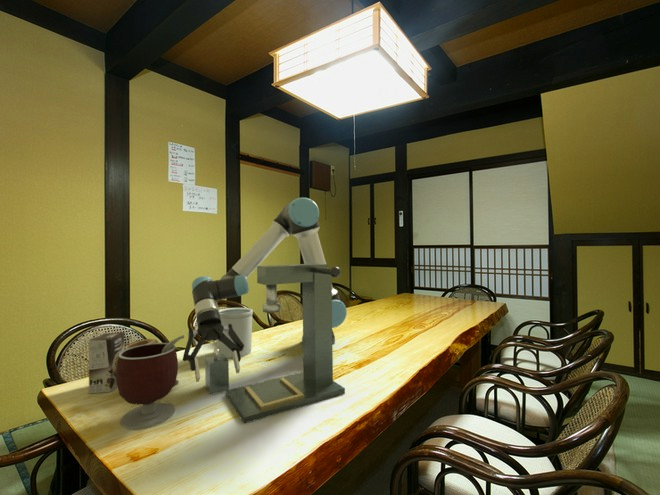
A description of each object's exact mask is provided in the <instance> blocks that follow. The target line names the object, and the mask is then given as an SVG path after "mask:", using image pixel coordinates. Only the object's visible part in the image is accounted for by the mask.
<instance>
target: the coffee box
mask: <svg viewBox="0 0 660 495" xmlns="http://www.w3.org/2000/svg"><path fill="white" fill-rule="evenodd" d="M124 348H125V332H122V331H121V332H120V331H119V332H118V331H117V332H107V333H102V334H100V335H98V336H96V337H94V338H93V337H92V339H90V340H88V394H98V393H99V394H102V393H111V392H113V391H114V390H115V389H116V388H117V383H116V367H117V361H118V358H119V356H118V355H119V353H120V352H122V351H123V350H124Z"/></svg>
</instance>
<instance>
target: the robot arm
mask: <svg viewBox="0 0 660 495" xmlns="http://www.w3.org/2000/svg"><path fill="white" fill-rule="evenodd" d="M319 217H320V210H319V207H318V205H317V203H316V202H315V201H314V200H312V199H310V198H308V197H298V198H295V199H292V200H291V201H290V202H288V203H286V204H285V205H284V207H283V208H282V209H281V211H280V212H279V213H278V215H276V216H275V218H274V219H273V220H272V221H271V222H272V224H271V226H270V227H268V229H267V230H266V231H265V232H264V233H263V234H262V236H261V237H260V238H258V239H257V241H255V242H254V244H253V245H252V246H251V247H250V248H249V249H248V250H247V251H246V253H244V255H243V256H242V257H241V258H239V260H237V262H236V263H235V264H234V265H233V266H232V267H231V268H230V269H229V270H228V272H226V274H223V275H222V277H221V278H220V279H216V280H213V279H212V278H211V277H210V276H204V275H202V276H199V277H195V279H194V280H193V281H192V282H191V291H192V292H191V295H192V298H193V304H194V305H193V306H194V311H195V316H196V324H197V329H193V328H190V329H188V332H187V337H188V338H187V342H186V345H185V348H184V352H183V356H182V361H183V362H186V361H187V362H188V363H189V366H190V371H191V372H194V375H195V382H196V383H199V382H200V379H201V374H200V368H199V367H200V366H199V360H198V357H197V355H198V354H199V352H200V350H201V348H202V346H203V345H204V343H205V342H211V341H216V340H217V339H218V340H219V341H220V342H222V343H224V344H225V345H226V346H227V347H228V348H229V349H230V350H231V351H232V352H233V354H232V356H233V358H232V360H233V366H234V369H235V374H239V373H240V370H241V366H240V362H241V359H242V357H241V356H240V351H242V350H243V348H244V344H243V343H242V342H241V340H240V339H239V337H238V336H237V334H236V333H235V332H234V330H233V328H232V324H229V325H228V326H223V325H222V323H221V319H220V314H219V310H220V309H219V306H218V301H222V300H226V299H227V300H228V299H231V298H236V297H242V296H244V295H246V294H248V293H249V290H250V289H249V288H250V287H249V283H248V278H249V277H250V275H251V274H253V272H254V271H255V270H257V266H261V264H262V263H263V262H264V260H266V259H267V257H268V256H269V255H270V254H271V253H272V252H273V251H274V250H275V249H276V247H278V245H279V244H280V243H281V242H282V241H283V240H284V239H285V238H287V237H290V236H291V235H292V236H293V237H295V238H296V239H297V243H298V246H299V250H300V253H301V256H302V260H303V264H327V262H326V258H325V255H324V252H323V248H322V244H321V241H320V236H319V234H318V233H319V232H318V231H319V230H320V229H321V228H320V227H321V226H320V223H319ZM347 311H348V310H347V306H346V305H345V303H344V302H343V301H341V298H340V295H339V291H338V290H337V289H335V288H334V287H333V285H332V346H333V345H334V344H336V337H335V333H334V330H333V329H334V328H335V329H336V328H338V327H339V326H341V325H342V324H343V323H344V322H345V320H346V318H347V314H348V313H347ZM223 330H225V331H226V333H228V334H229V336H230V338H231V339H232V340H233V342H234V343H235V344H234V343H233V342H232V341H231V340H230V339H229V338H228V337H226V336H225V334H224V333H223ZM196 335H197V336H199V337H200V338H199V340H198V342H197V343H196V346H194V349H193V350H192V352H191V354H189V353H190V350H191V347H192V343H193V340H194V339H193V338H195V337H196ZM301 344H302V345H303V335H302V337H301Z"/></svg>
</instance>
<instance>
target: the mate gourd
mask: <svg viewBox="0 0 660 495" xmlns="http://www.w3.org/2000/svg"><path fill="white" fill-rule="evenodd" d="M184 338H185V335H184V334H182V335H180V336H178V337H176V338H174V339H172V340H170V341H169V342H159V343H152V344H145V345H139V346H135V347H131V348H128V349H126V350H123V351H122V352H120V353H119V355H118V356H119V358H118V361H117V367H116V383H117V387H116V388H117V391H118V394H119V396H120V397H121V398H122V399H123V400H124V401H125V402H126V403H127V404H131V405H139V406H137V407H135V408H133V409H131V410H129V411H126V413H124V414H123V415H122V417H121V418H120V426H121V427H122V428H124V429H126V430H134V431H135V430H143V429H148V428H152V427H156V426H158V425H161V424H162V423H164V422H166V421H168V420H169V419H171V418H172V417H173V416H174V414H175V412H176V408H175V405H173V403H170V402H165V401H162V402H157V401H160V400H162V399H164V398H165V397H167V396H168V395H169V394H170V393H171V391H172V390H173V388H174V387H175V386H174V385H175V383H176V380H177V378H178V371H179V361H178V360H179V359H178V355H177V354H178V353H177V350H176V346H175V344H176V343H178V342H179V341H180V340H182V339H184Z"/></svg>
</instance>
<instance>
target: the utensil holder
mask: <svg viewBox="0 0 660 495" xmlns="http://www.w3.org/2000/svg"><path fill="white" fill-rule="evenodd" d="M253 312H254V311H253V309H252V308H249V307H229V308H223V309H222V308H221V309H219V314H220V319H221V323H222V325H223V326H228V325H229V324H232V328H233V330H234V332H235V333H236V334H237V336H238V337H239V339H240V340H241V342H242V343H243V344H244V348H243V350H242V351H240V356H241V358H242V357H245V356H248V355H250V354H251V352H252V338H253V336H252V334H253ZM223 333H224V334H225V336H226V337H228V338H229V339H230V340H231V341H232V342H233V340H232V339H231V338H230V336H229V334H228V333H226V331H225V330H223ZM215 341H216V349H217V348H218V349H219V355H222V354H223V355H224V356H225V357H226V358H227V359H233V356H232V354H233V352H232V351H231V350H230V349H229V348H228V347H227V346H226V345H225V344H224V343H222V342H220V341H219V340H218V339H217V340H215ZM233 343H234V342H233ZM234 344H235V343H234Z"/></svg>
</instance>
